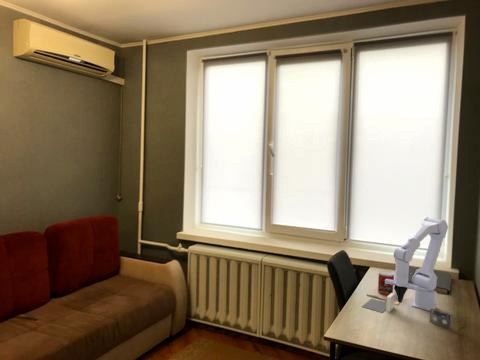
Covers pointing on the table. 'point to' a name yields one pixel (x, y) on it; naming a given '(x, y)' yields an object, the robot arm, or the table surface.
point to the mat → (375, 305)
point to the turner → (383, 298)
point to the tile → (390, 302)
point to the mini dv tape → (440, 318)
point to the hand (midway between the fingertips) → (400, 301)
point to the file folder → (442, 281)
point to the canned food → (382, 287)
